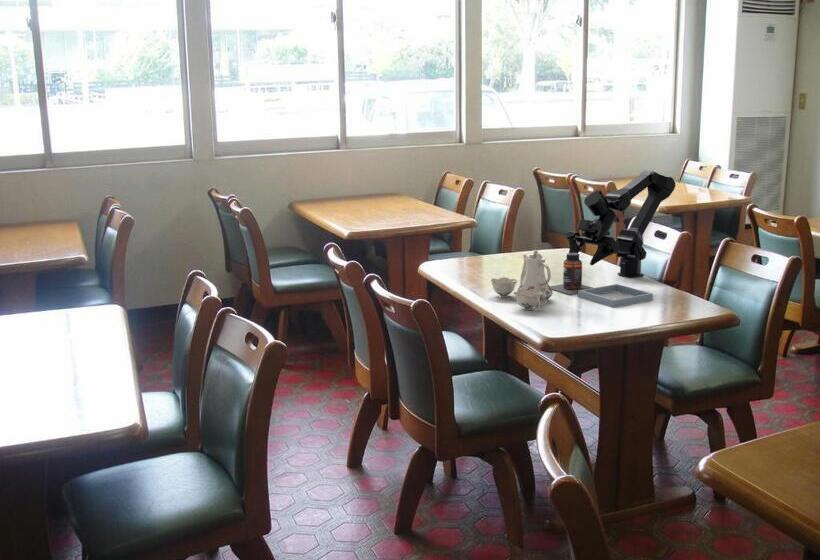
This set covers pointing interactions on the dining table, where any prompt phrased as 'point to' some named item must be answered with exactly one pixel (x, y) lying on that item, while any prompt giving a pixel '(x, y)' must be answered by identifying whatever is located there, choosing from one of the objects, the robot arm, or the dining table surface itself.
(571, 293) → the mat
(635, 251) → the robot arm
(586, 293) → the bin
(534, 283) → the chinaware
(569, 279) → the supplement bottle
